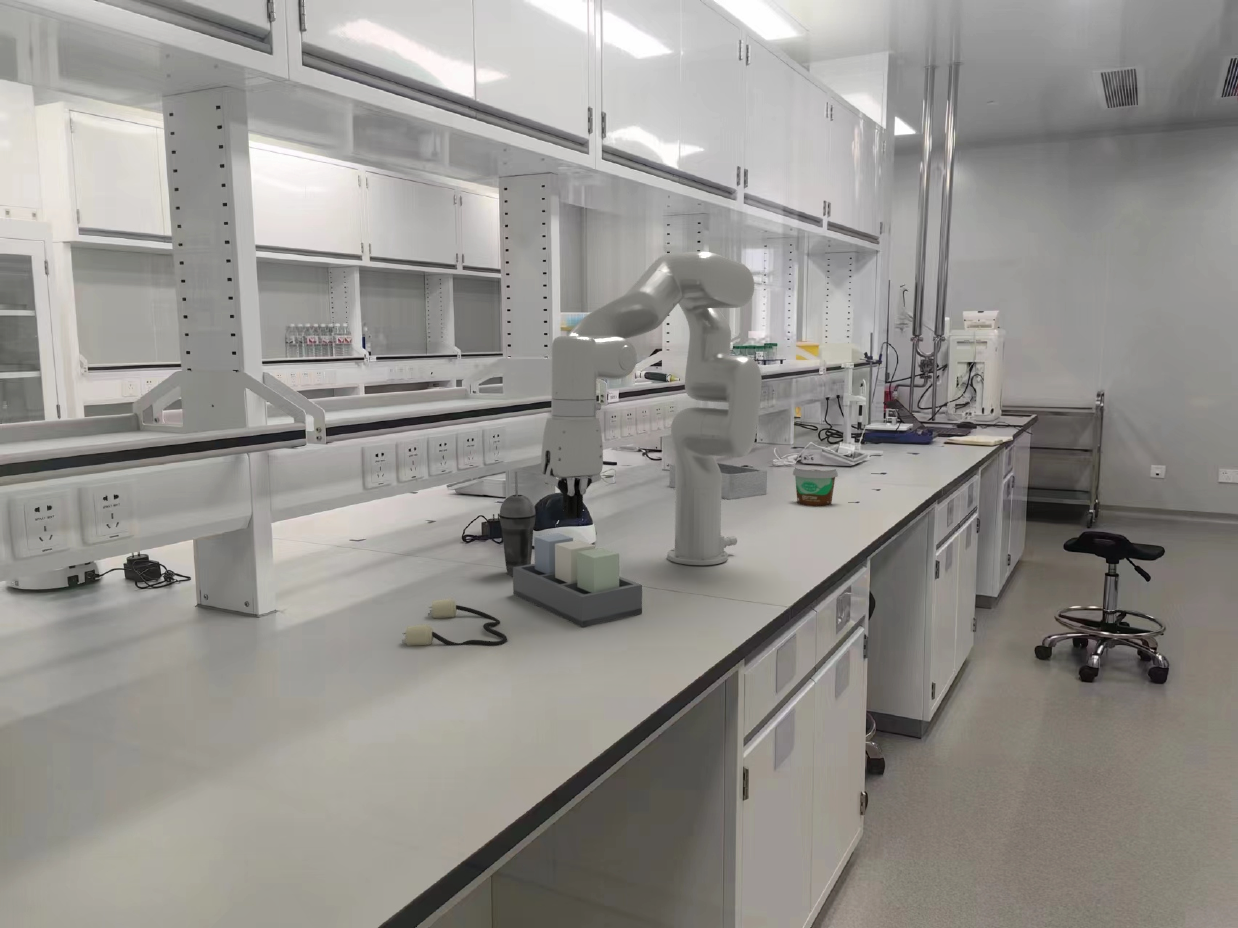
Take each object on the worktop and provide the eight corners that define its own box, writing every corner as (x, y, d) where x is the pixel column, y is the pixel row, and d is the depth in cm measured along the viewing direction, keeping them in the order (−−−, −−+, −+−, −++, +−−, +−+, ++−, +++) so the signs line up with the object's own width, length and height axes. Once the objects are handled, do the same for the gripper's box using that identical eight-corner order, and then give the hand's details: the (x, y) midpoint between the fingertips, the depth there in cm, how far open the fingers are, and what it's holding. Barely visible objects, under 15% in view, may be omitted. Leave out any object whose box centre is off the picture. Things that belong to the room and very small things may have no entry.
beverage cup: (502, 579, 168) (500, 475, 166) (497, 569, 175) (495, 470, 173) (540, 576, 170) (538, 474, 168) (533, 567, 177) (532, 468, 174)
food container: (789, 505, 243) (790, 469, 242) (791, 501, 249) (793, 466, 248) (835, 508, 240) (836, 471, 238) (836, 504, 245) (838, 468, 244)
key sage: (602, 582, 150) (601, 547, 149) (619, 588, 146) (619, 553, 145) (577, 586, 147) (577, 551, 146) (594, 593, 143) (594, 557, 142)
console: (569, 583, 165) (569, 557, 165) (642, 613, 147) (642, 584, 147) (513, 594, 158) (512, 567, 158) (582, 627, 140) (582, 597, 140)
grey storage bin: (705, 482, 282) (706, 460, 281) (766, 494, 261) (767, 470, 260) (669, 486, 274) (669, 464, 273) (729, 499, 252) (729, 475, 251)
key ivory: (579, 573, 156) (579, 540, 155) (595, 579, 152) (595, 545, 151) (555, 577, 153) (555, 543, 152) (570, 584, 149) (570, 549, 148)
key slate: (558, 565, 161) (558, 533, 160) (573, 570, 157) (573, 538, 156) (534, 569, 158) (534, 536, 158) (549, 575, 154) (548, 541, 154)
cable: (521, 617, 147) (521, 597, 147) (503, 652, 131) (502, 630, 130) (429, 615, 148) (429, 595, 147) (400, 649, 132) (399, 627, 131)
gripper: (597, 407, 155) (596, 510, 158) (523, 409, 147) (523, 518, 149) (622, 410, 149) (621, 516, 152) (547, 412, 141) (546, 525, 143)
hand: (572, 517), depth 150 cm, fingers closed
